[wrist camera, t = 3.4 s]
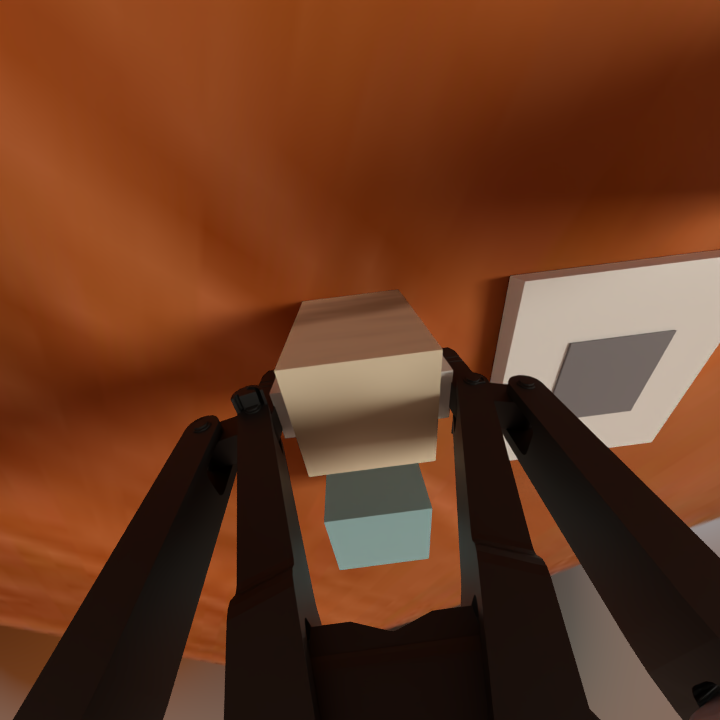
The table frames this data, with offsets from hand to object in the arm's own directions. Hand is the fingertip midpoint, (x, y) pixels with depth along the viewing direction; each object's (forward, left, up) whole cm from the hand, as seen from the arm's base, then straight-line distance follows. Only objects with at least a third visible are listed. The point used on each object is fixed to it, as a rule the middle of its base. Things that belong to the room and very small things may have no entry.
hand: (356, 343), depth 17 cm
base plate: (+5, +18, 0) cm, 18 cm away
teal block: (+10, 0, 0) cm, 10 cm away
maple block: (0, 0, 0) cm, 0 cm away
